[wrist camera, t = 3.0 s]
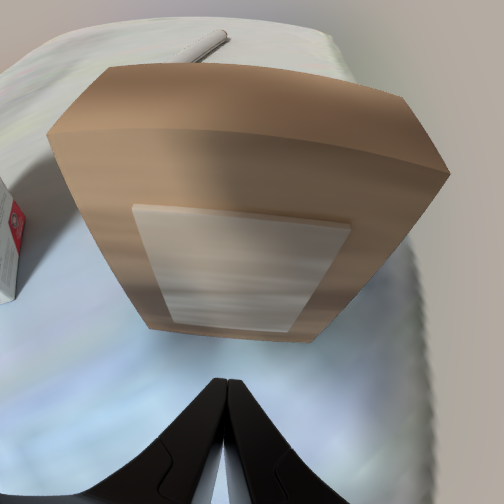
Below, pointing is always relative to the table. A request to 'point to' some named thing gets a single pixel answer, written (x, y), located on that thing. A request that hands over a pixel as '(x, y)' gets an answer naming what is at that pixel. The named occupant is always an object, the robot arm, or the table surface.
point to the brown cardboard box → (243, 192)
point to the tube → (199, 48)
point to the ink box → (9, 243)
